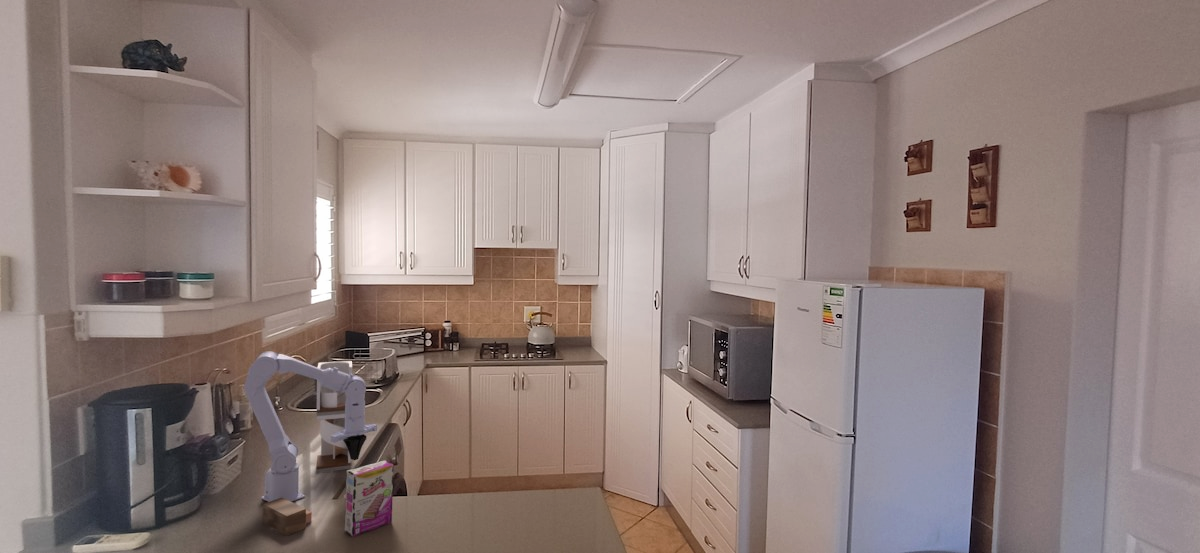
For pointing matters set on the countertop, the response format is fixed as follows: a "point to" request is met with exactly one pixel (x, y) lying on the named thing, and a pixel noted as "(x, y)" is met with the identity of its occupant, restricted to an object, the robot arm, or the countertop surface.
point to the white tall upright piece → (332, 422)
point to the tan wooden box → (284, 516)
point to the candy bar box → (368, 497)
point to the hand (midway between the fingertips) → (354, 459)
